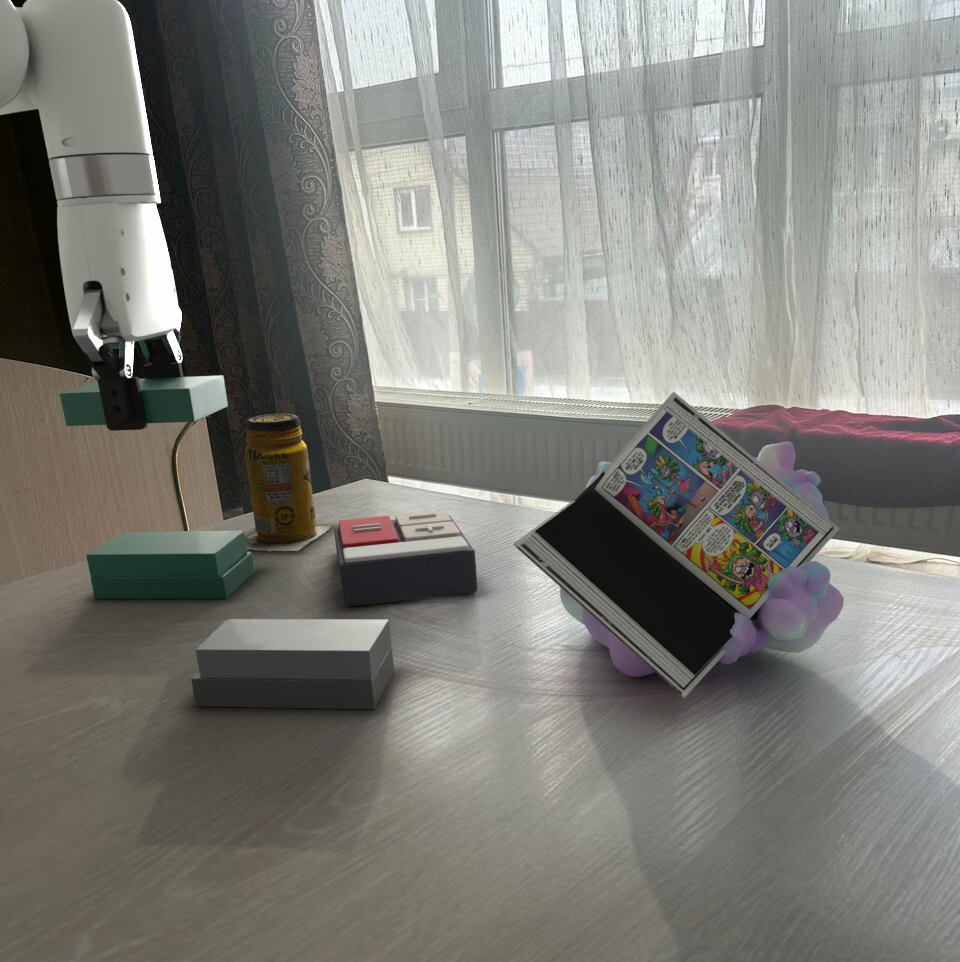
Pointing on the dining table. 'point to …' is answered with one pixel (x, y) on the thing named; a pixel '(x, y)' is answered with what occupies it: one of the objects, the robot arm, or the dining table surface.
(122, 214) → the robot arm
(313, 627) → the grey books
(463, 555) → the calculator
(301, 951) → the dining table surface
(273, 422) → the condiment
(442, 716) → the dining table surface
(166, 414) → the slim green book
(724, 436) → the comic strip frame
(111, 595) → the green books
